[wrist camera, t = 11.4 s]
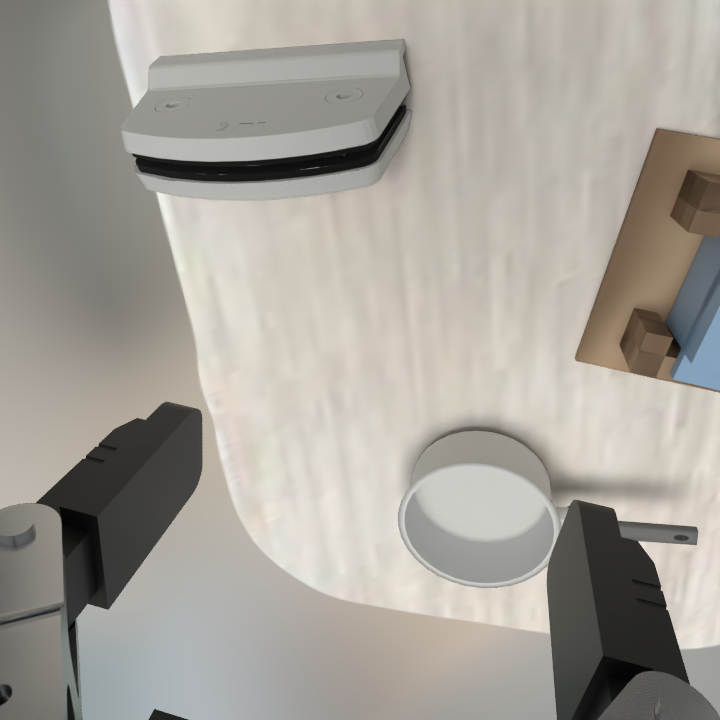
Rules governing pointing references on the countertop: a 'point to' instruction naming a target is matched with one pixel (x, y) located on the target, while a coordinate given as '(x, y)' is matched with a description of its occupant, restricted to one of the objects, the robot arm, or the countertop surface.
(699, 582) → the countertop surface
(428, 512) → the saucepan
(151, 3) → the countertop surface
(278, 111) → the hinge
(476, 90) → the countertop surface
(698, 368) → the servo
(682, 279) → the cradle
